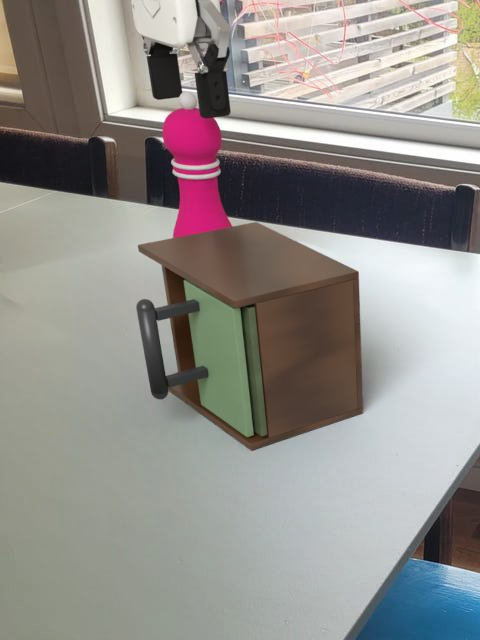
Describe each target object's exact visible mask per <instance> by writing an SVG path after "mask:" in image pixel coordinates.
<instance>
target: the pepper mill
mask: <svg viewBox="0 0 480 640" xmlns="http://www.w3.org/2000/svg"><path fill="white" fill-rule="evenodd" d="M178 103H179V105H180V107H181V108H177V109H175V110H173V111H171V112H170V113H169V114H168V115H167V116H166V117H165V119H164V121H163V125H162V139H163V144H164V147H165V148H166V149H167V151H168V152H169V153H170V154H171V155H172V156H173V158H172V159H171V162H170V164H171V165H172V174H173V175H174V176H175V177H177V182H178V187H179V206H178V213H177V216H176V221H175V224H174V228H173V233H172V238H176V237H181V236H186V235H192V234H197V233H202V232H207V231H212V230H217V229H223V228H228V227H233V226H234V225H232V223H231V221H230V219H229V217H228V215H227V213H226V211H225V209H224V206H223V204H222V200H221V196H220V192H219V183H218V181H219V180H218V176H220V174H221V172H222V171H221V168H220V163H221V162H220V160H219V159H218V158H217V154H218V152H219V151H220V150H221V148H222V143H223V138H222V137H223V135H222V132H221V128H220V126H219V124H218V121H217V120H216V119H215V118H208V119H205V118H203V117H201V116H200V112H199V107H198V108H197V105H198V99H197V97H196V96H195V95H194V93H193V92H191V91H187V90H185V91H182V94H181V95H180V97H178Z"/></svg>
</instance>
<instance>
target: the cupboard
mask: <svg viewBox="0 0 480 640" xmlns="http://www.w3.org/2000/svg"><path fill="white" fill-rule="evenodd" d="M232 226H233V227H228V228H223V229H217V230H212V231H207V232H202V233H197V234H192V235H186V236H181V237H176V238H173V237H172V238H171V237H170V238H165V239H161V240H156V241H150V242H146V243H140V244H137V249H138V252H139V253H140V254H142V255H144V256H146V257H148V258H149V259H150V260H153V261H154V262H155V263H157V264H159V265H161V270H162V277H163V284H164V289H165V290H164V291H165V297H166V305H171V304H175V303H179V302H184V301H186V294H185V287H184V280H188V281H190V282H192V283H193V284H195V285H197V286H198V287H200V288H202V289H204V290H205V291H207V292H209V293H210V294H212V295H214V296H215V297H217V298H219V299H221V300H222V301H224V302H226V303H227V304H229V305H231V306H233V307H234V308H239V307H240V311H241V320H242V329H243V338H244V348H245V357H246V366H247V376H248V385H249V394H250V404H251V413H252V422H253V431H254V435H253V436H250V437H246V436H245V435H243V434H242V433H240V432H239V431H238V430H236V429H235V428H233V427H232V426H231V425H229V424H228V423H226V422H225V421H224V420H222V419H221V418H219V417H218V416H217V415H215V414H214V413H212V412H211V411H210V410H208V409H207V408H205V407H204V406H203V405H201V400H200V393H199V386H198V380H195V381H191V382H188V383H184V384H181V385H177V386H174V387H170V388H169V387H168V392H170V393H171V394H172V395H174V396H175V397H177V398H178V399H179V400H181V401H182V402H183V403H185V404H187V405H188V407H191V408H192V409H193V410H195V412H197V413H199V414H200V415H202V416H203V417H204V418H205V419H207V420H208V421H210V422H211V423H213V424H214V425H215V426H217V427H218V428H220V429H221V430H222V431H224V432H225V433H227V435H229V436H231V437H232V439H233V438H234V439H235V440H236V441H237V442H239V443H240V444H242V445H243V446H244V447H246V448H247V449H248V450H250V451H255V450H257V449H260V448H263V447H266V446H269V445H273V444H275V443H278V442H281V441H284V440H287V439H290V438H294V437H296V436H299V435H303V434H304V433H307V432H311V431H314V430H317V429H320V428H322V427H325V426H328V425H332V424H335V423H338V422H341V421H344V420H347V419H350V418H352V417H356V416H359V415H361V414H364V398H363V366H362V334H361V333H362V332H361V329H362V328H361V299H360V297H361V296H360V273H359V271H358V270H357V269H354V268H353V267H350V266H348V265H346V264H345V263H342V262H340V261H338V260H335V259H334V258H331V257H330V256H327V255H326V254H324V253H321V252H319V251H317V250H315V249H313V248H311V247H309V246H307V245H305V244H303V243H300V242H299V241H297V240H295V239H293V238H291V237H288V236H286V235H284V234H282V233H280V232H278V231H276V230H273V229H272V228H270V227H267V226H265V225H263V224H261V223H259V222H257V221H254V222H250V223H244V224H238V225H232ZM169 322H170V329H171V330H170V331H171V337H172V342H173V349H174V356H175V361H176V368H177V373H178V372H182V371H185V370H189V369H192V368H196V364H195V357H194V350H193V343H192V336H191V329H190V322H189V315H188V314H185V315H181V316H177V317H172V318H169Z"/></svg>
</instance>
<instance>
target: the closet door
mask: <svg viewBox="0 0 480 640" xmlns="http://www.w3.org/2000/svg"><path fill="white" fill-rule="evenodd" d="M184 287H185V294H186V301H184V302H179V303H175V304H171V305H168V304H166V305H163V306H158V307H155V305H154V303H153V302H152V301H151V300H150V299H147V298H142V299H139V300H138V302H137V303H136V306H135V308H136V315H137V320H138V325H139V332H140V338H141V342H142V343H141V344H142V349H143V354H144V361H145V366H146V371H147V377H148V382H149V389H150V393H151V396H152V397H153V398H154V399H157V400H164V399H166V398H167V396H168V394H169V390H168V387H169V388H170V387H174V386H177V385H181V384H184V383H188V382H191V381H195V380H198V386H199V393H200V400H201V405H203V406H204V407H205V408H207V409H208V410H210V411H211V412H212V413H214V414H215V415H217V416H218V417H219V418H221V419H222V420H224V421H225V422H226V423H228V424H229V425H231V426H232V427H233V428H235V429H236V430H238V431H239V432H240V433H242V434H243V435H245V436H246V437H250V436H253V435H254V431H253V422H252V413H251V404H250V394H249V385H248V376H247V366H246V357H245V348H244V338H243V329H242V320H241V311H240V307H239V308H234V307H233V306H231V305H229V304H227V303H226V302H224V301H222V300H221V299H219V298H217V297H215V296H214V295H212V294H210V293H209V292H207V291H205V290H204V289H202V288H200V287H198V286H197V285H195V284H193V283H192V282H190V281H188V280H184ZM185 314H188V315H189V322H190V329H191V336H192V343H193V350H194V357H195V364H196V368H192V369H189V370H185V371H182V372H178V371H177V372H174V373H172V374H167V375H166V369H165V363H164V357H163V351H162V345H161V339H160V332H159V328H158V327H159V326H158V321H164V320H168V319H170V318H172V317H177V316H181V315H185Z"/></svg>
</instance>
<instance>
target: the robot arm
mask: <svg viewBox="0 0 480 640" xmlns="http://www.w3.org/2000/svg"><path fill="white" fill-rule="evenodd" d="M130 3H131V10H132V18H133V24H134V28H135V30H136V31H137V33H138V34H139V35H140V36H141V38H142V49H143V52H144V54H145V56H146V62H147V69H148V74H149V81H150V88H151V93H152V94H151V95H152V97H153V99H155V100H157V101H161V100H162V101H163V100H169V99H177V98H178V99H179V97H180V95H181V94H182V93H183V88H182V79H181V73H180V65H179V57H178V53H176V52H173V50H174V49H185V47H186V46H187V48H188V51H189V52H190V55H191V58H192V59H193V61H194V63H195V66H196V69H197V71H198V72H194V81H195V87H196V95H197V105H198V109H199V112H200V116H201V117H203V118H205V119H208V118H214V119H215V118H221V117H228V116H229V115H231V113H232V112H231V103H230V94H229V93H230V91H229V85H228V83H229V82H228V76H227V72H228V71H229V62H228V60H229V57H230V52H231V50H230V40H231V33H232V29H231V25H230V24H229V22H228V21H227V20H226V18H225V17H224V16H223V14H222V13H221V12H222V11H221V3H220V0H130ZM202 50H206V51H205V54H204V52H203V51H202Z"/></svg>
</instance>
